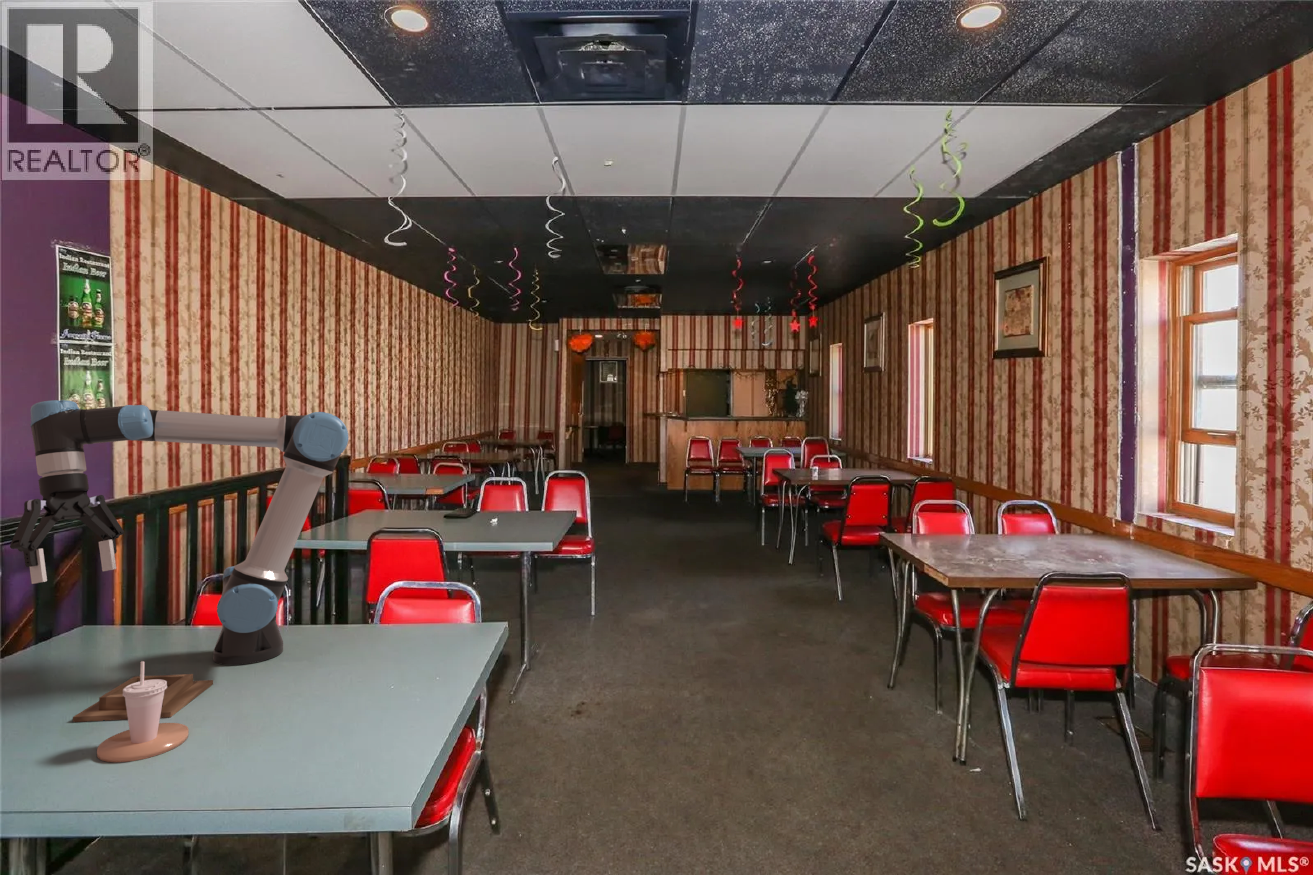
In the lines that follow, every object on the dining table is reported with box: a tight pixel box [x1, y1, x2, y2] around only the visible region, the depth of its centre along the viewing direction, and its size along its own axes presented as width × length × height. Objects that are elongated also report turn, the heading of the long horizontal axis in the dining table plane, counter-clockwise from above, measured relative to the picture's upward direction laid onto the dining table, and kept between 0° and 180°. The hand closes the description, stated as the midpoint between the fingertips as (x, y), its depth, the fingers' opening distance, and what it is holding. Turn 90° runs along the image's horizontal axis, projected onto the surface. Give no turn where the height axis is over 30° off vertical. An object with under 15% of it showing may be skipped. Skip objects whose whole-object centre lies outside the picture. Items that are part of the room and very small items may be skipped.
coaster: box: [96, 722, 190, 763], centre depth 117 cm, size 13×13×1 cm
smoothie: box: [122, 660, 167, 743], centre depth 117 cm, size 6×6×14 cm
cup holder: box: [72, 673, 214, 723], centre depth 135 cm, size 17×17×4 cm
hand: (76, 576), depth 132 cm, fingers open, 13 cm apart
